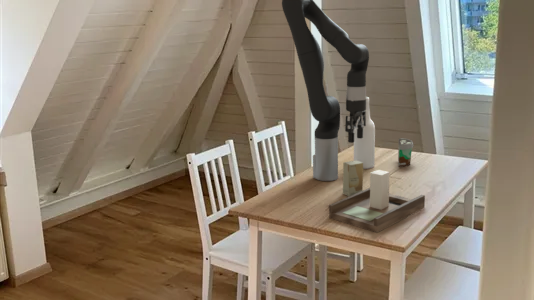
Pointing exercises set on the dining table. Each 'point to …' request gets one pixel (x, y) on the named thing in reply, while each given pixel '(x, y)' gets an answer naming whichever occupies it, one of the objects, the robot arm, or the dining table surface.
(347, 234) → the dining table surface
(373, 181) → the block
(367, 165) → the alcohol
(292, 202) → the dining table surface
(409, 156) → the food container
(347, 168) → the skincare box
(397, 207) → the channel
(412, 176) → the dining table surface
